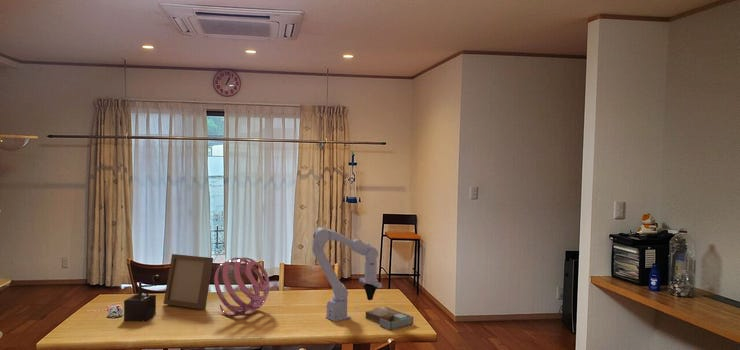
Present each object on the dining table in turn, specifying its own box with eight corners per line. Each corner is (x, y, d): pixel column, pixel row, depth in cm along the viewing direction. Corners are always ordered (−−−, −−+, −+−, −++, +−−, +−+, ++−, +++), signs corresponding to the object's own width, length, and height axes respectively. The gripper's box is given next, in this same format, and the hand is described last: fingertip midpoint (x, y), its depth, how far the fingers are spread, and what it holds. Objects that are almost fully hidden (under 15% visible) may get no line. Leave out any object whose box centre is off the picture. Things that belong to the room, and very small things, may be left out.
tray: (390, 330, 212) (390, 322, 212) (379, 326, 217) (379, 318, 217) (413, 324, 221) (413, 316, 221) (402, 320, 226) (402, 312, 226)
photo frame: (199, 310, 233) (200, 259, 233) (163, 305, 240) (164, 255, 240) (218, 302, 247) (219, 254, 247) (183, 298, 254) (184, 251, 254)
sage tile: (400, 323, 220) (400, 318, 220) (393, 320, 223) (393, 315, 223) (407, 321, 223) (407, 316, 222) (400, 319, 226) (400, 313, 226)
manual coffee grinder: (147, 321, 217) (148, 282, 216) (123, 321, 217) (123, 281, 216) (162, 311, 232) (162, 273, 232) (139, 310, 232) (139, 273, 232)
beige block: (380, 316, 222) (380, 310, 222) (373, 313, 225) (373, 308, 225) (387, 314, 225) (387, 309, 225) (380, 312, 228) (381, 306, 228)
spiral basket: (190, 272, 229) (231, 244, 221) (231, 275, 253) (270, 249, 246) (205, 328, 217) (249, 300, 210) (247, 325, 241) (288, 300, 234)
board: (382, 325, 219) (382, 318, 219) (365, 318, 228) (365, 311, 228) (403, 319, 227) (403, 313, 227) (386, 313, 237) (386, 307, 236)
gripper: (387, 273, 227) (386, 301, 228) (367, 267, 239) (366, 294, 239) (375, 275, 223) (375, 304, 223) (356, 269, 234) (355, 297, 234)
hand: (370, 299), depth 231 cm, fingers closed
